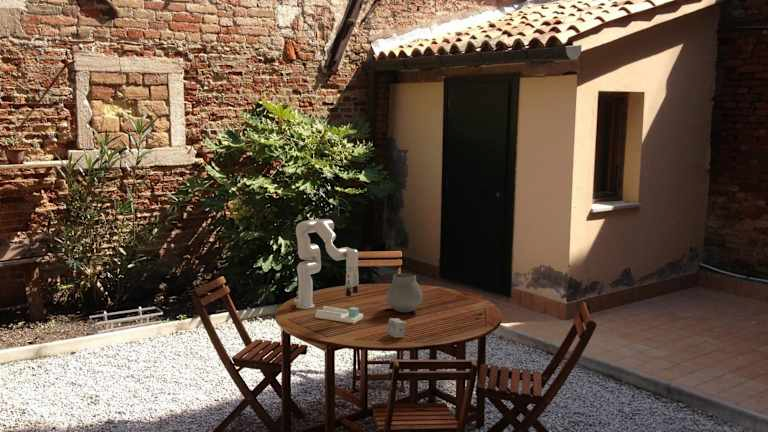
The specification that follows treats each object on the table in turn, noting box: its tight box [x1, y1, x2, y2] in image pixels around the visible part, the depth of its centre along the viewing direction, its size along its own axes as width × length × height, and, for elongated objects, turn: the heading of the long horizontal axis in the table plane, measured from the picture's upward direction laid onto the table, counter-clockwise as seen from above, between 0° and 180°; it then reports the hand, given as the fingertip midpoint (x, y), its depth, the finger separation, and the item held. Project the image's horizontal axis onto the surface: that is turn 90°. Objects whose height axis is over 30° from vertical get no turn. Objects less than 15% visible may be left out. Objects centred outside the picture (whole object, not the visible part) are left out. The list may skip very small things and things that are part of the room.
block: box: [348, 306, 360, 317], centre depth 457 cm, size 5×5×5 cm
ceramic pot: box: [385, 273, 423, 313], centre depth 478 cm, size 24×24×25 cm
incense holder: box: [386, 317, 408, 339], centre depth 426 cm, size 10×8×10 cm
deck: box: [314, 305, 364, 324], centre depth 461 cm, size 28×14×4 cm, turn 67°
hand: (351, 294), depth 455 cm, fingers open, 9 cm apart
